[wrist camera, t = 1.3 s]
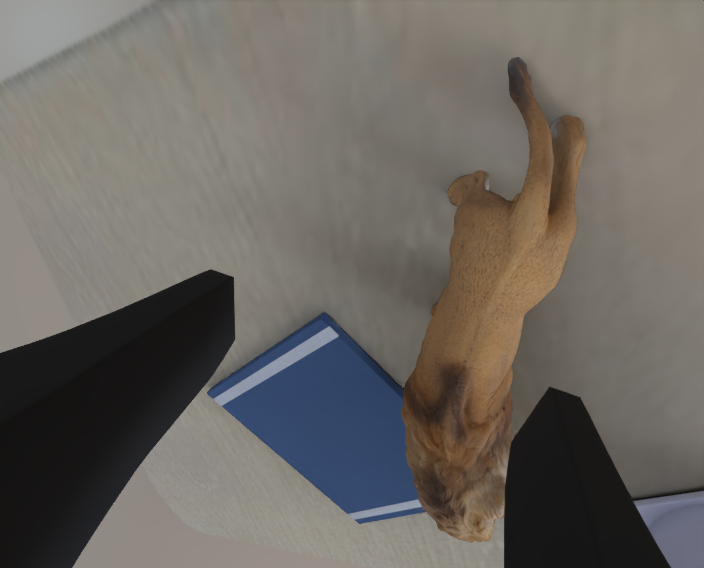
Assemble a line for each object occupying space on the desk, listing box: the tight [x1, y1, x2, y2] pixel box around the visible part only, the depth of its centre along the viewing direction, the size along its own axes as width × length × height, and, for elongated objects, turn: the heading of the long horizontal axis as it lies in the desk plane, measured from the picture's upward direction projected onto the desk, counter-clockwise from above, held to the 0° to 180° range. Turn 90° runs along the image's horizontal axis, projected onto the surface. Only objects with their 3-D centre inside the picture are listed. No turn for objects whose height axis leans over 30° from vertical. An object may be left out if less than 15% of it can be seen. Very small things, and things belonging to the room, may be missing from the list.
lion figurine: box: [401, 57, 586, 542], centre depth 14 cm, size 15×5×9 cm, turn 5°
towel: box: [207, 313, 426, 524], centre depth 28 cm, size 16×13×1 cm
